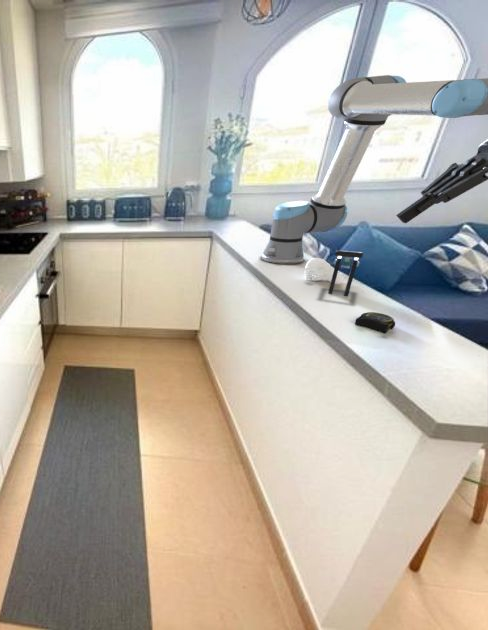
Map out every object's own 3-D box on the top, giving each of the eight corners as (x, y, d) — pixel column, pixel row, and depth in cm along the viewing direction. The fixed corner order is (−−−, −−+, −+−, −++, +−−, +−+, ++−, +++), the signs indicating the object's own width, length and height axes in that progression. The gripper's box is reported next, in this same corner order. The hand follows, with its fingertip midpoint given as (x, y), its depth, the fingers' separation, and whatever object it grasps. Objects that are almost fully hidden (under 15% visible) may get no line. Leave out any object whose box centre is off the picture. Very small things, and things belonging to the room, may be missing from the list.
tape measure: (351, 328, 90) (355, 315, 89) (365, 321, 93) (369, 309, 92) (382, 338, 85) (387, 325, 83) (396, 331, 88) (401, 317, 86)
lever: (361, 259, 93) (364, 250, 93) (334, 256, 97) (336, 248, 97) (357, 269, 104) (359, 261, 104) (333, 266, 108) (335, 259, 107)
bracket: (352, 304, 103) (364, 263, 98) (320, 299, 108) (329, 260, 102) (354, 293, 111) (365, 254, 105) (324, 288, 115) (333, 251, 110)
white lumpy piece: (311, 254, 122) (352, 262, 114) (303, 277, 126) (343, 286, 118) (306, 259, 118) (348, 267, 110) (298, 281, 122) (338, 291, 114)
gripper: (550, 154, 73) (426, 234, 84) (497, 153, 85) (394, 224, 96) (530, 128, 72) (407, 213, 83) (479, 131, 84) (378, 205, 95)
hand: (401, 219), depth 89 cm, fingers closed
